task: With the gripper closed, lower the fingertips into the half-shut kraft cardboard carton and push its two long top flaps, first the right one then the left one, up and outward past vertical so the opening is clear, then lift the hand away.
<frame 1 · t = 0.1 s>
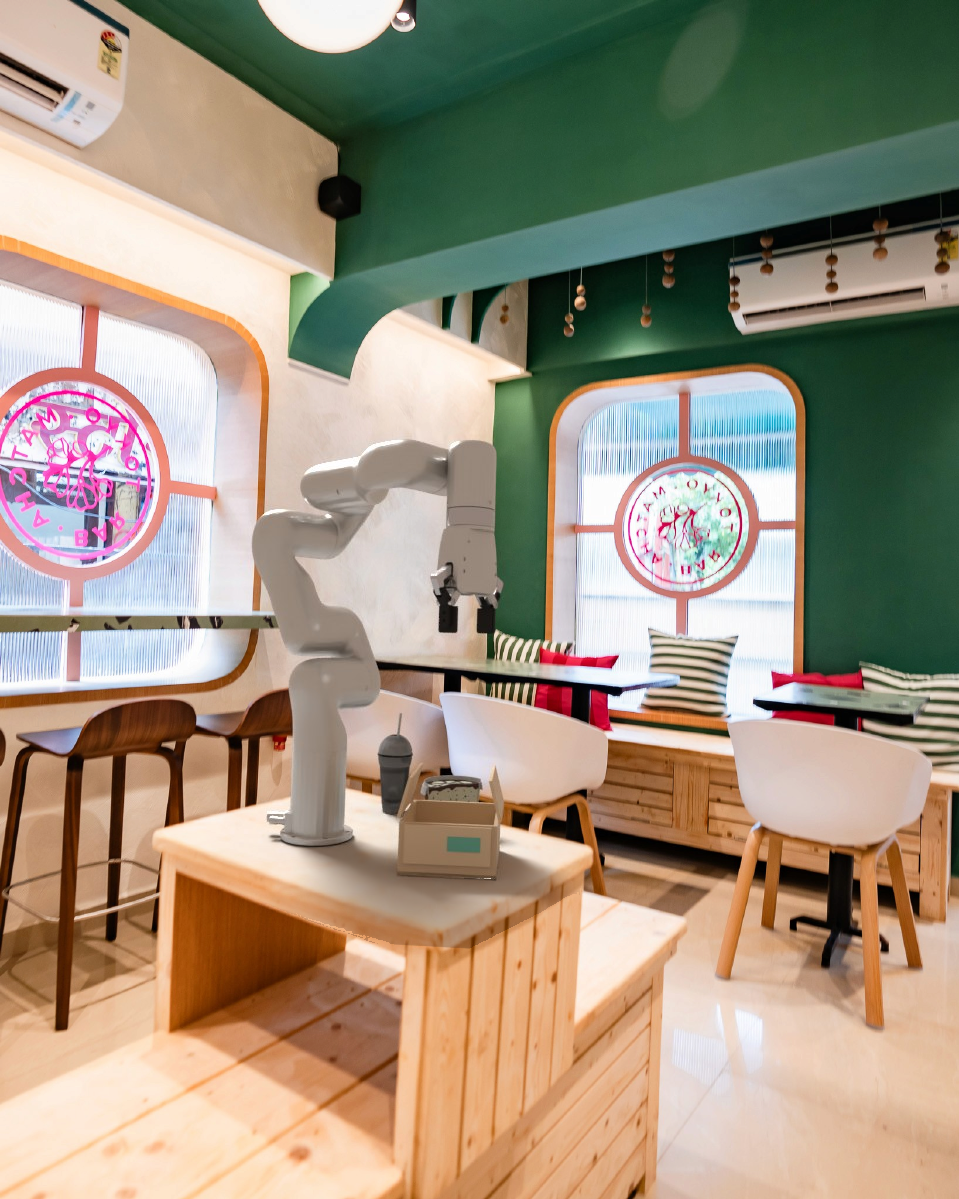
hand: (467, 633, 123), 37 cm above the table, tool pointing down, fingers open, 9 cm apart
food container: (444, 834, 147), on the table
right flap: (496, 792, 129), point 11 cm above the table, hinge at 75.0°
left flap: (410, 788, 130), point 11 cm above the table, hinge at 75.0°
beverage cup: (393, 812, 163), on the table
carton: (451, 862, 129), on the table
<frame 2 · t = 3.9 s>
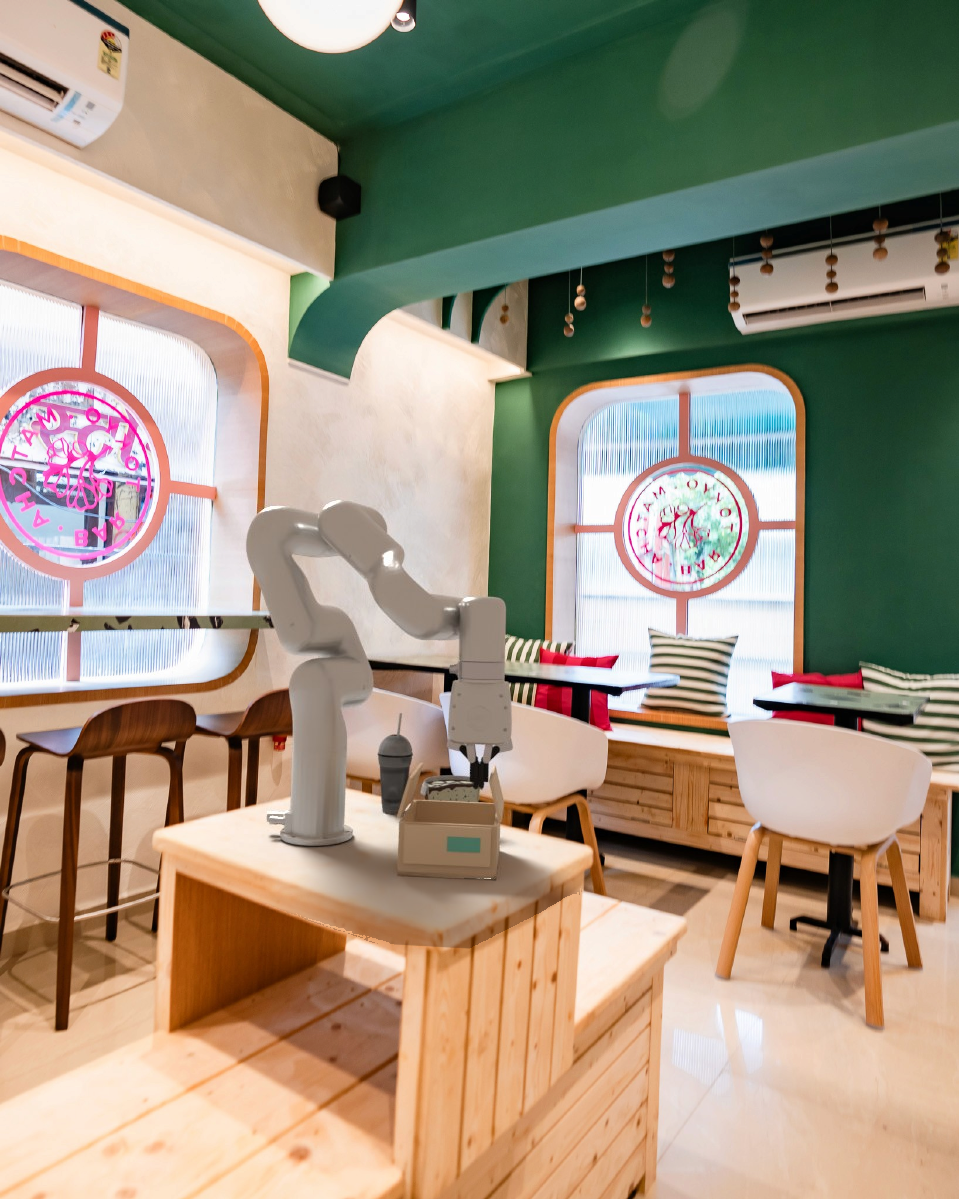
hand: (478, 786, 129), 12 cm above the table, tool pointing down, fingers closed
right flap: (496, 792, 129), point 11 cm above the table, hinge at 75.0°, touching gripper
everything else where it was.
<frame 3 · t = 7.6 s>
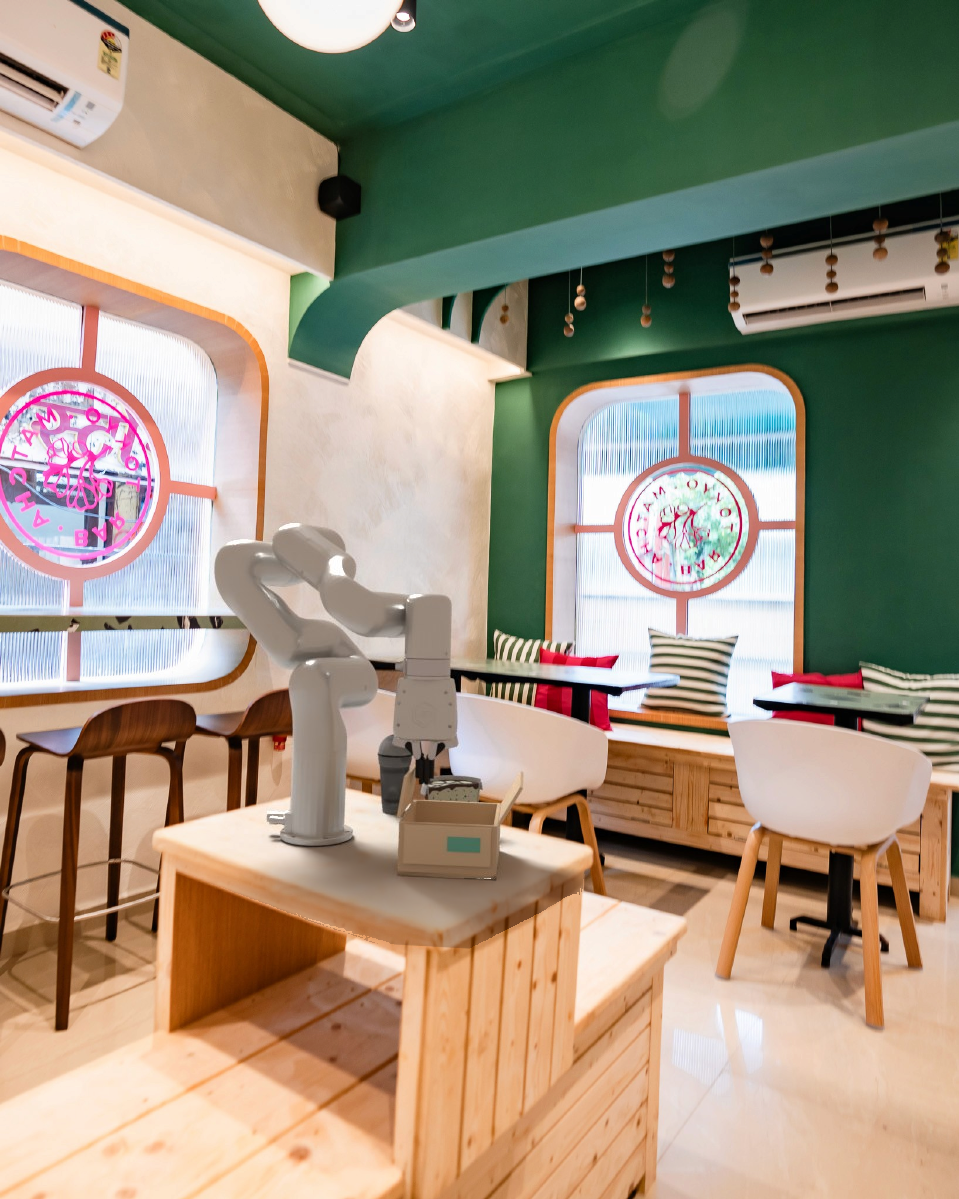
hand: (424, 782, 130), 13 cm above the table, tool pointing down, fingers closed
right flap: (511, 796, 129), point 11 cm above the table, hinge at 119.6°
left flap: (408, 788, 130), point 12 cm above the table, hinge at 81.5°, touching gripper
everything else where it was.
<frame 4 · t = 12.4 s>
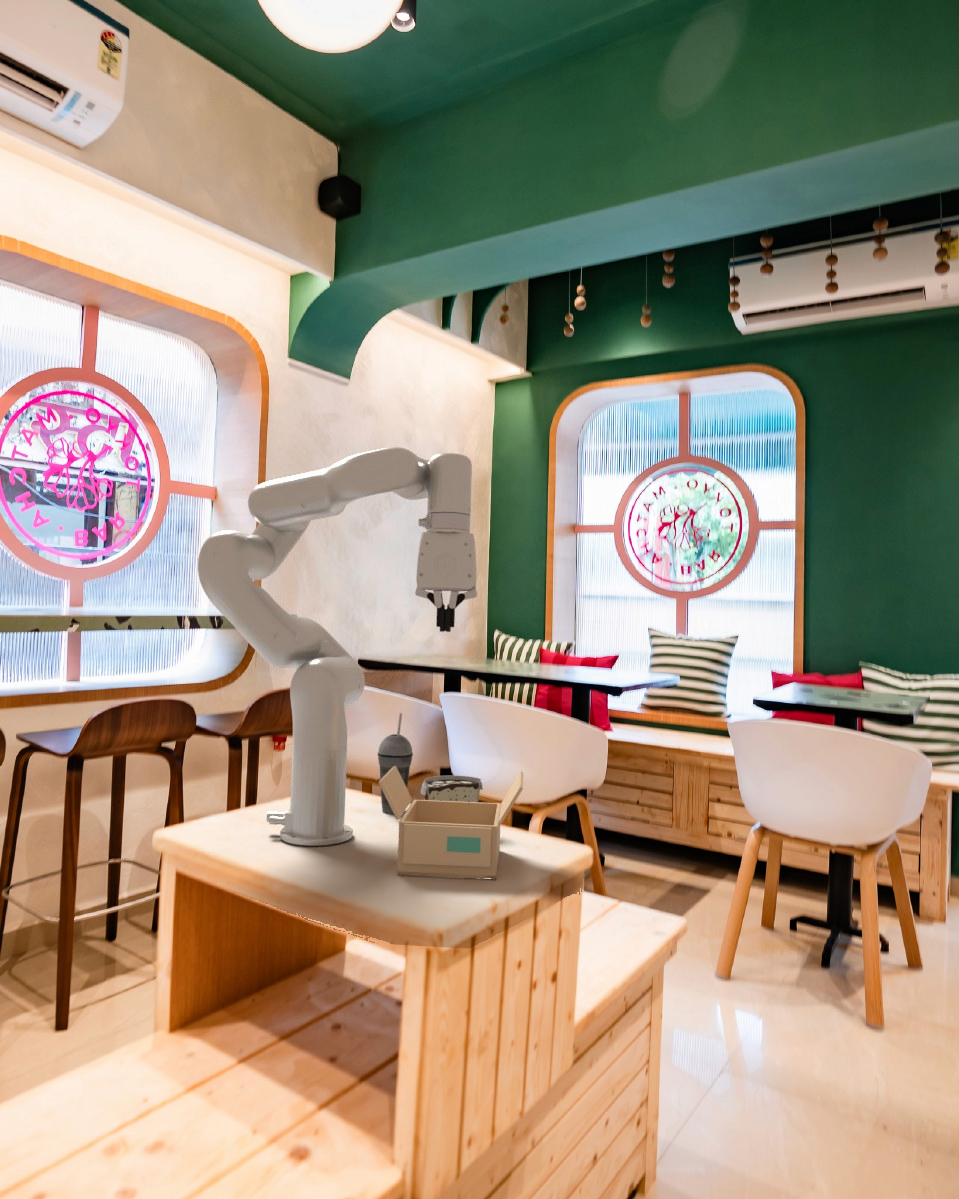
hand: (445, 631, 138), 37 cm above the table, tool pointing down, fingers closed
left flap: (396, 791, 130), point 11 cm above the table, hinge at 118.7°
everything else where it was.
at the end: right flap at +120° (first picture: +75°); left flap at +119° (first picture: +75°) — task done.
